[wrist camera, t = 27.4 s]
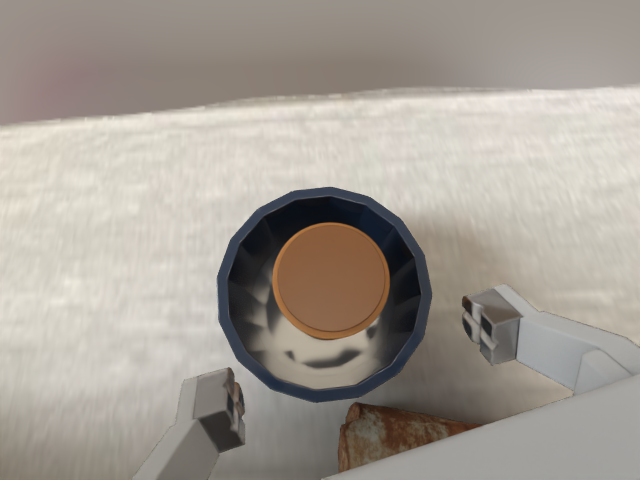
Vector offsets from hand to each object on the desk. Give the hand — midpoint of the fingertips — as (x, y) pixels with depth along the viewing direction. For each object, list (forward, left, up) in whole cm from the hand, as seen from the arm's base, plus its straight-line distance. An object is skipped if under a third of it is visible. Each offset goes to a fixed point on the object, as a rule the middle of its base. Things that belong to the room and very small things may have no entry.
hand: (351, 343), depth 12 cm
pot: (0, +3, -14) cm, 14 cm away
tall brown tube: (0, +3, -13) cm, 14 cm away
